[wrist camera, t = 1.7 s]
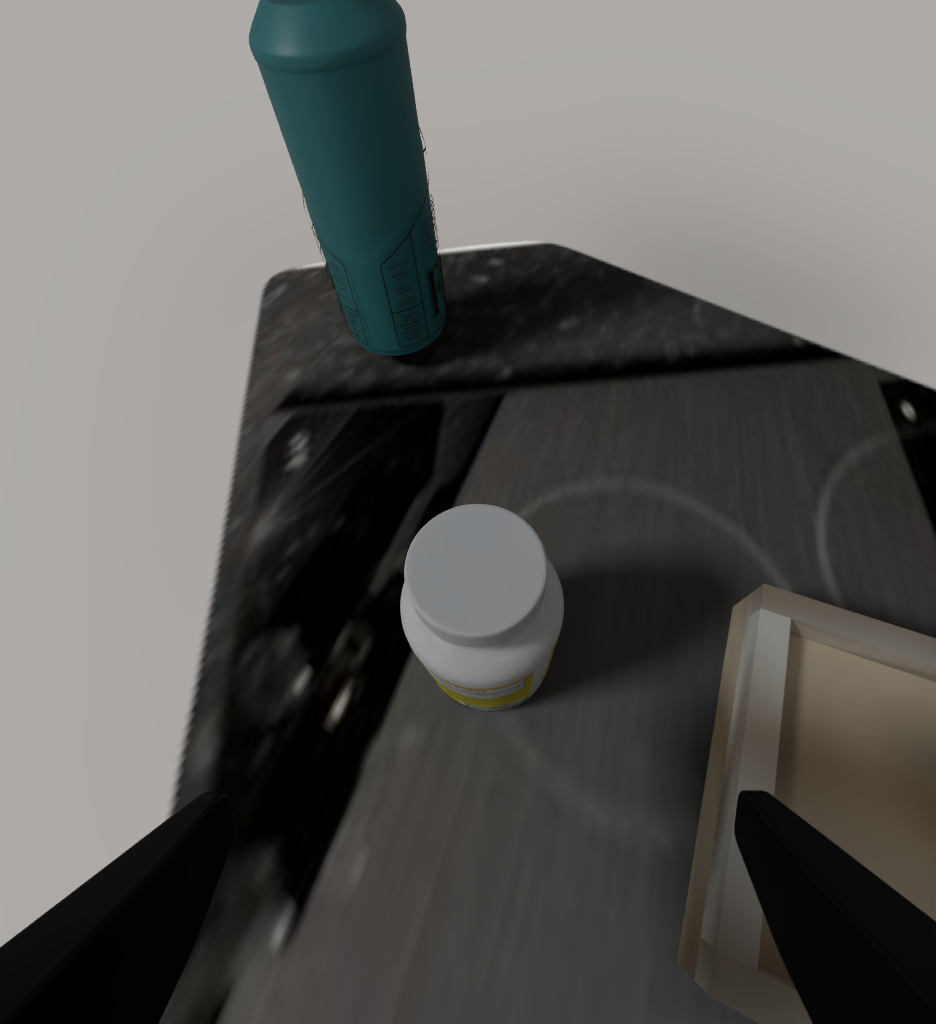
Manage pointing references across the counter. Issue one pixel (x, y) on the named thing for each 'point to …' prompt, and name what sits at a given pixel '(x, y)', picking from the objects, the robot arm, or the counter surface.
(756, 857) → the robot arm
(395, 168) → the beverage bottle
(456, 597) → the supplement bottle
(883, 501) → the counter surface
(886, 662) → the shallow square tray
